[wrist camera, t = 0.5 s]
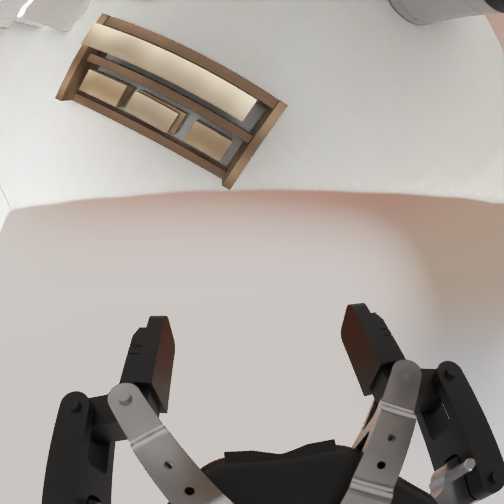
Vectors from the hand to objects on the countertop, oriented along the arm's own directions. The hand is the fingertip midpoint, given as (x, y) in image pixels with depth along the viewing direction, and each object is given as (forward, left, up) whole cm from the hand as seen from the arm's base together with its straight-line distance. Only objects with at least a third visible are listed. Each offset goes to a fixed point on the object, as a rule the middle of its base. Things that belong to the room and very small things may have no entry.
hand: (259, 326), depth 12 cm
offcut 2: (-2, -5, -28) cm, 29 cm away
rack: (-5, -13, -28) cm, 31 cm away
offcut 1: (-2, -20, -28) cm, 35 cm away
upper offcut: (-2, -13, -26) cm, 29 cm away
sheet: (-8, -13, -28) cm, 32 cm away
